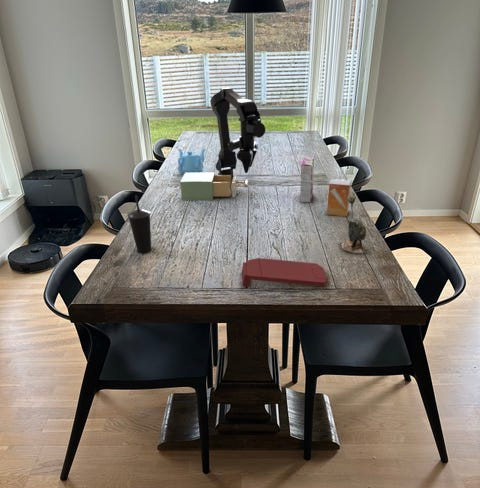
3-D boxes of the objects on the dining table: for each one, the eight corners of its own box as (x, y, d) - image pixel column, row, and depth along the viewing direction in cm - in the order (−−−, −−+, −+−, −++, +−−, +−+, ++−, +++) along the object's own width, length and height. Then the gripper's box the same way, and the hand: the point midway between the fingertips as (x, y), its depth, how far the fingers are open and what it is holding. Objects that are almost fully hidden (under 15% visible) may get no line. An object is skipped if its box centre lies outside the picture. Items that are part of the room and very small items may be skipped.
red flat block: (317, 277, 146) (241, 270, 143) (321, 263, 143) (243, 256, 141) (325, 296, 135) (243, 289, 133) (329, 282, 133) (245, 275, 130)
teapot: (174, 175, 234) (172, 155, 229) (180, 166, 247) (178, 147, 242) (202, 175, 233) (201, 155, 228) (206, 166, 246) (205, 147, 241)
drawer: (248, 188, 210) (248, 174, 207) (247, 197, 200) (247, 182, 196) (209, 188, 211) (208, 174, 208) (206, 197, 201) (205, 182, 197)
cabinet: (215, 190, 212) (214, 172, 208) (212, 199, 201) (211, 181, 196) (186, 190, 213) (185, 172, 209) (181, 200, 201) (180, 181, 197)
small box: (326, 215, 182) (328, 183, 175) (328, 209, 187) (331, 178, 180) (346, 216, 179) (350, 184, 173) (348, 211, 185) (351, 180, 178)
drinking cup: (145, 257, 154) (136, 200, 143) (128, 252, 157) (119, 197, 147) (159, 248, 159) (152, 193, 149) (143, 243, 163) (135, 190, 152)
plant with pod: (346, 258, 149) (353, 200, 139) (337, 243, 159) (343, 188, 148) (370, 256, 149) (378, 198, 139) (360, 242, 159) (367, 187, 149)
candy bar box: (301, 193, 204) (303, 157, 196) (312, 194, 203) (314, 157, 195) (299, 202, 195) (300, 164, 186) (311, 203, 194) (313, 164, 185)
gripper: (233, 128, 201) (234, 163, 209) (224, 137, 185) (225, 175, 193) (258, 128, 199) (258, 164, 207) (250, 138, 183) (251, 176, 191)
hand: (248, 169), depth 199 cm, fingers open, 9 cm apart
